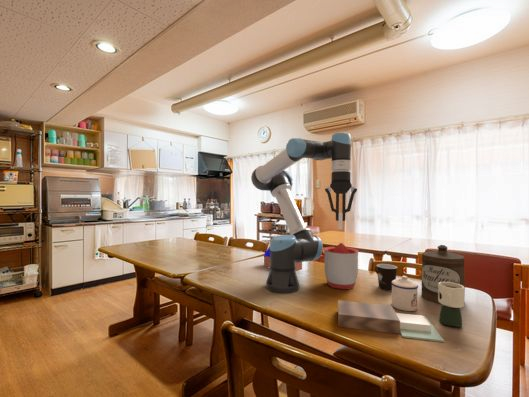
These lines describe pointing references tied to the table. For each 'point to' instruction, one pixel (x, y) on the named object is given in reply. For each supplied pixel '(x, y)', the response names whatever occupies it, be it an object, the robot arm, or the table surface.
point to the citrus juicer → (341, 266)
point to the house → (267, 261)
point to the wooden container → (440, 271)
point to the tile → (413, 322)
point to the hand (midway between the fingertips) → (340, 228)
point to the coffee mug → (386, 275)
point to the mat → (422, 334)
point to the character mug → (451, 303)
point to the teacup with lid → (404, 294)
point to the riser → (368, 316)
